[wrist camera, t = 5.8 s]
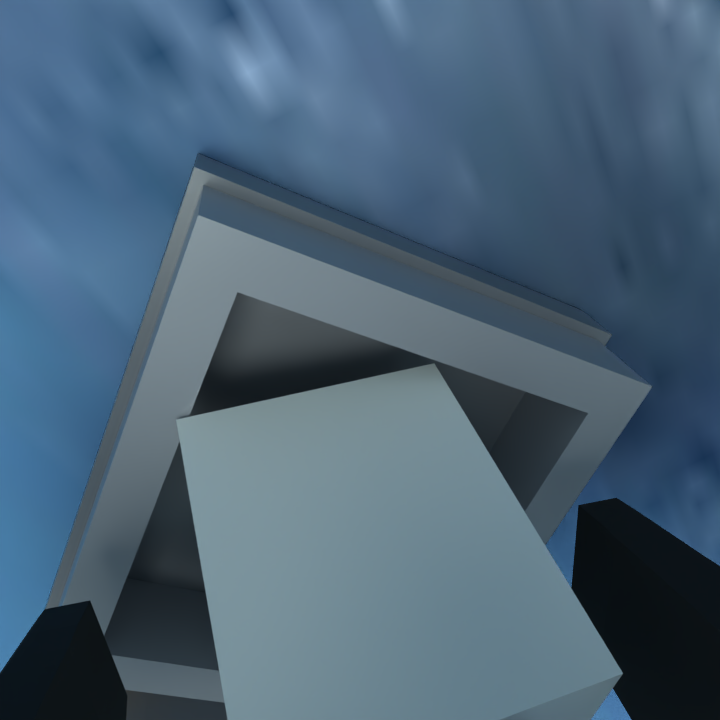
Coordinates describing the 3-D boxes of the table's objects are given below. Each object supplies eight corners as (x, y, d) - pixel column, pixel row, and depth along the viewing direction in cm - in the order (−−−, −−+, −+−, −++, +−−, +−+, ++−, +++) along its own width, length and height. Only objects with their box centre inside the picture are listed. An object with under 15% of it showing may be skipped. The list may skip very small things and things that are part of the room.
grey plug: (434, 363, 10) (671, 755, 6) (411, 538, 14) (557, 866, 10) (176, 419, 9) (262, 926, 5) (219, 593, 13) (292, 984, 9)
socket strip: (581, 310, 13) (668, 379, 11) (254, 854, 20) (258, 980, 17) (197, 153, 11) (187, 194, 8) (-33, 839, 17) (-80, 984, 15)
